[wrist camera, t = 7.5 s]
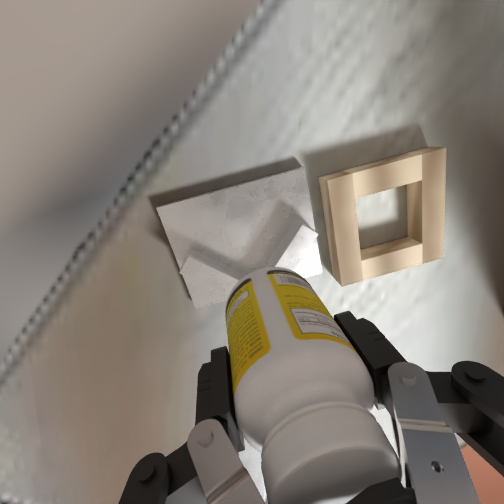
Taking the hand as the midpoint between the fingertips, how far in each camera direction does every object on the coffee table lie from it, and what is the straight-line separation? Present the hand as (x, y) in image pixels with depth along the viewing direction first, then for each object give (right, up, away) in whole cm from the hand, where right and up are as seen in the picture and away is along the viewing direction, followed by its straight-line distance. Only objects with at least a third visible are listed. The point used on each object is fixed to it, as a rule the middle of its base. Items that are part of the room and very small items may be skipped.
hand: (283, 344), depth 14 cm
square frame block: (+13, +9, +18) cm, 23 cm away
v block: (-2, +6, +17) cm, 18 cm away
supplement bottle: (0, +1, +3) cm, 4 cm away
